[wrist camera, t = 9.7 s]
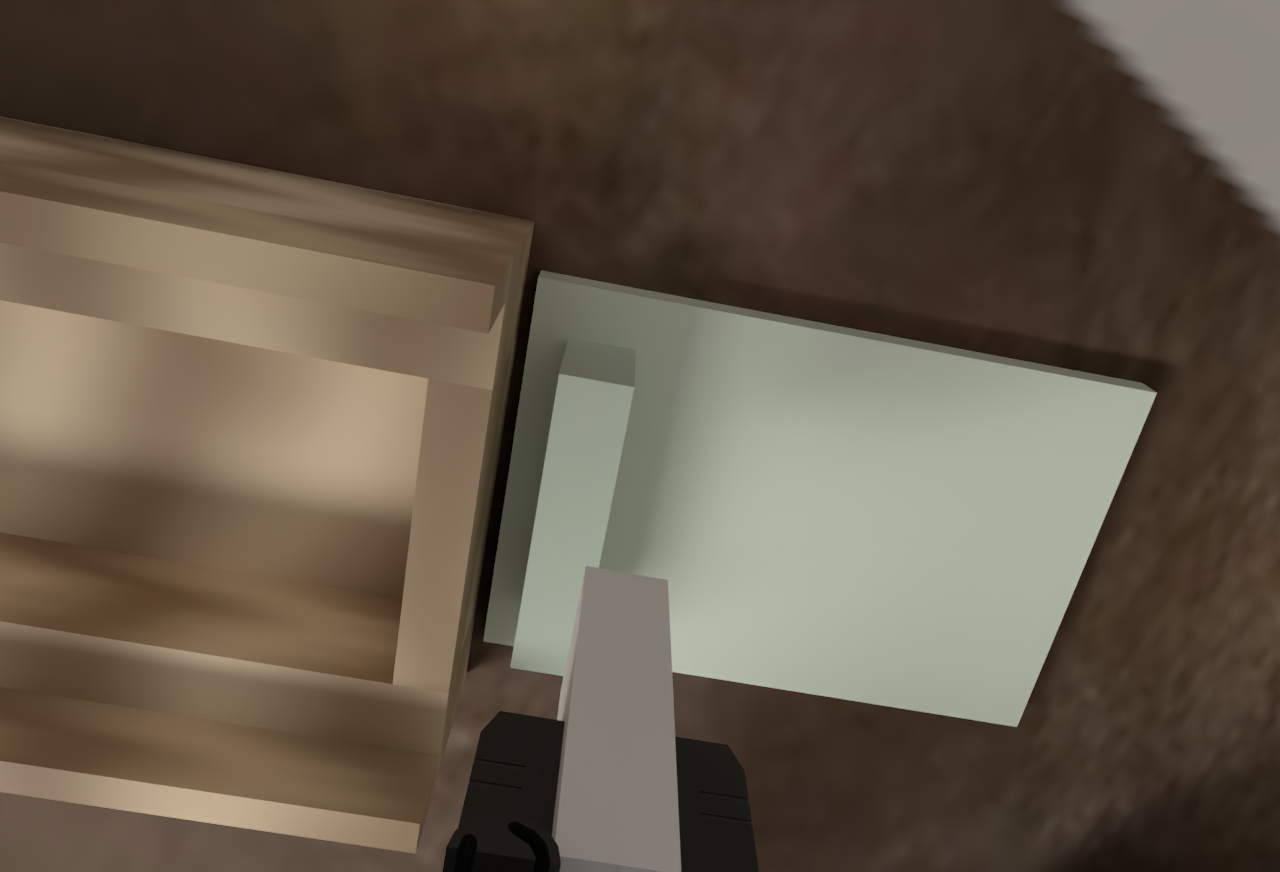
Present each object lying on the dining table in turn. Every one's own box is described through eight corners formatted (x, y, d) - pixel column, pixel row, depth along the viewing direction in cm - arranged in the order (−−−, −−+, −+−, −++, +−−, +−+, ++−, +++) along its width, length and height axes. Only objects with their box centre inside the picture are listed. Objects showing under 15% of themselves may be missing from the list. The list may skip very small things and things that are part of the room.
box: (-168, 571, 24) (-414, 730, 18) (-241, 69, 19) (-594, 77, 14) (466, 674, 25) (415, 853, 19) (535, 220, 21) (495, 285, 15)
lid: (490, 614, 25) (466, 704, 22) (543, 265, 22) (524, 306, 18) (1001, 697, 26) (1055, 796, 23) (1131, 375, 22) (1219, 434, 19)
